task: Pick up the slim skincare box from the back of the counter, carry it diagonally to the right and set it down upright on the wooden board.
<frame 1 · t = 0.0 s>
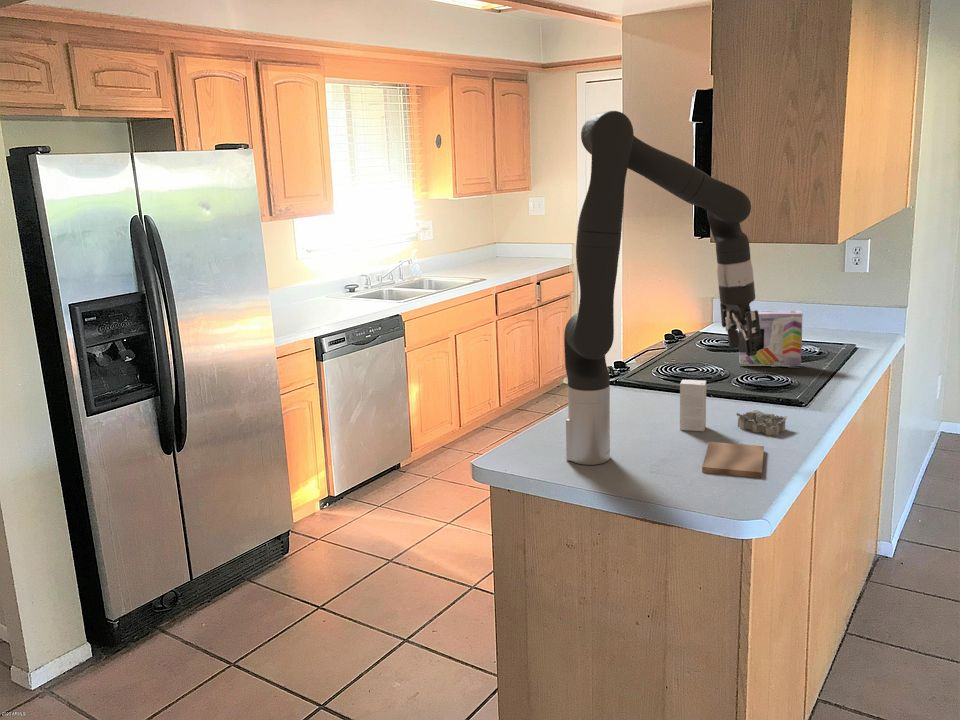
hand: (742, 350, 180), 22 cm above the worktop, tool pointing down, fingers open, 8 cm apart
cake pan box: (767, 366, 251), on the worktop
skincare box: (692, 429, 197), on the worktop
egg carton: (761, 430, 196), on the worktop
wooden board: (733, 461, 176), on the worktop
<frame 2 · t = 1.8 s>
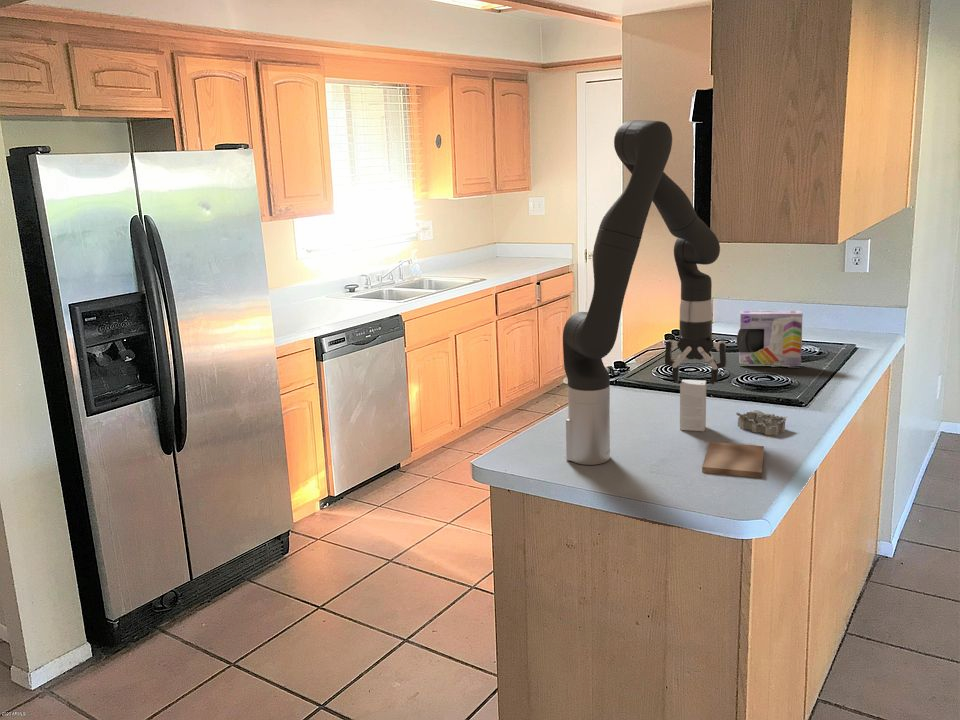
hand: (695, 382, 194), 12 cm above the worktop, tool pointing down, fingers open, 8 cm apart
nothing on the worktop moved.
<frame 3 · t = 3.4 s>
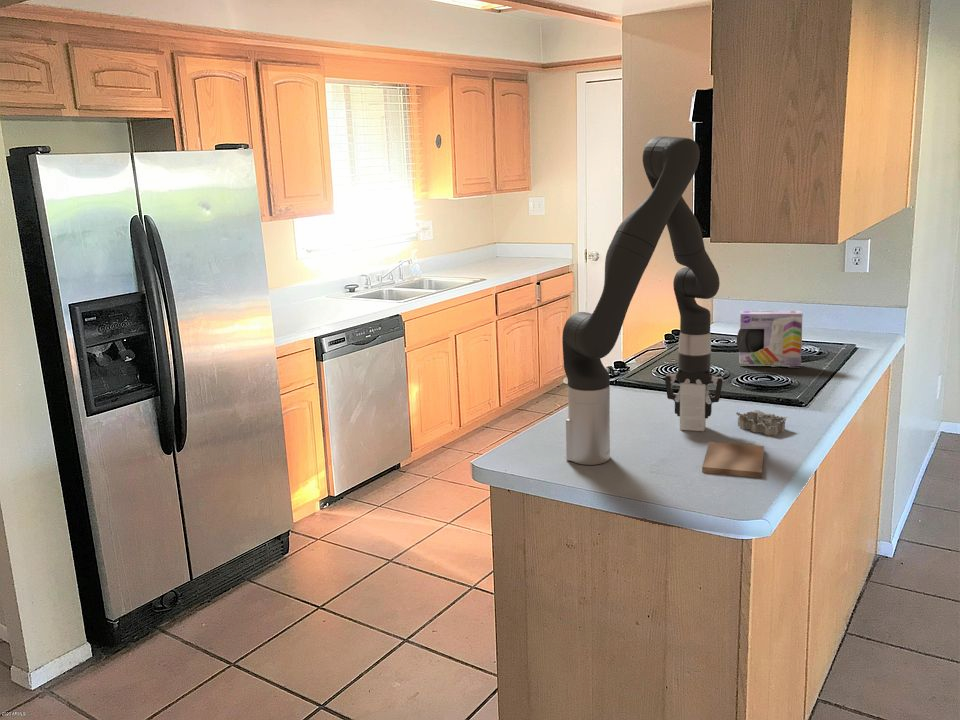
hand: (692, 416, 197), 3 cm above the worktop, tool pointing down, fingers closed on skincare box, 6 cm apart
skincare box: (692, 429, 198), on the worktop, touching gripper
everything else where it was.
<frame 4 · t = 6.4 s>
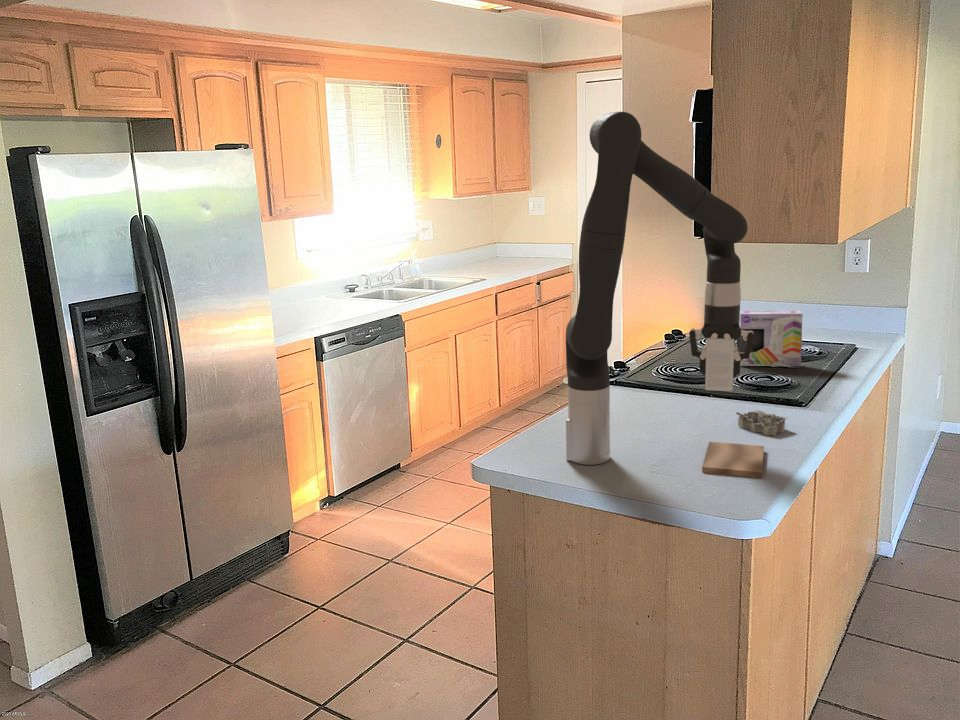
hand: (719, 375, 179), 17 cm above the worktop, tool pointing down, fingers closed on skincare box, 6 cm apart
skincare box: (718, 389, 180), point 14 cm above the worktop, touching gripper
everything else where it was.
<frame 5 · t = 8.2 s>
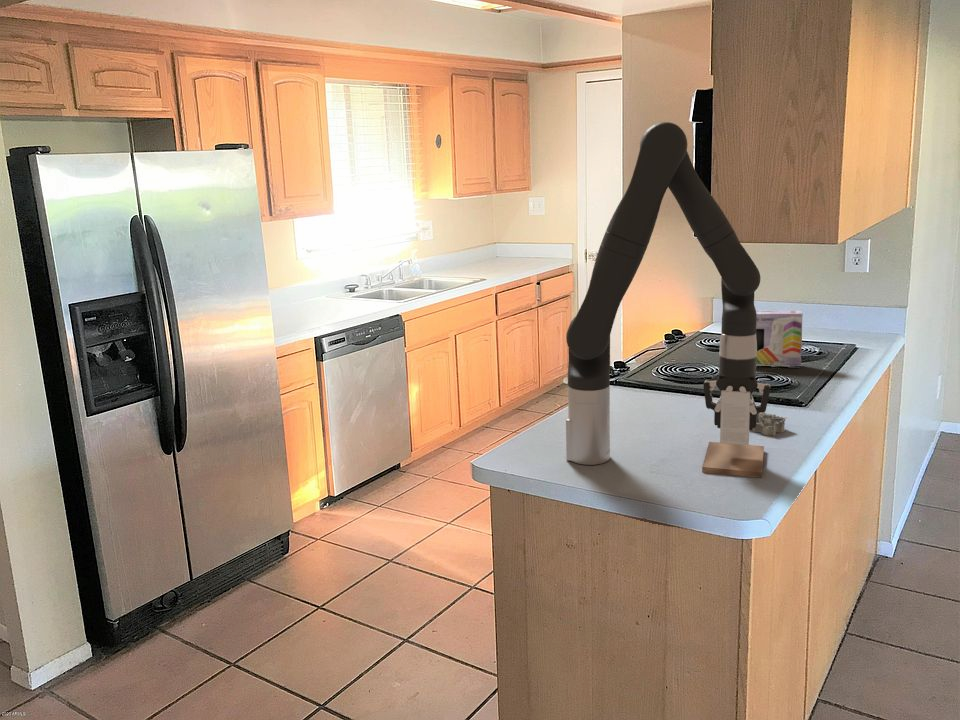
hand: (735, 428, 174), 8 cm above the worktop, tool pointing down, fingers closed on skincare box, 6 cm apart
skincare box: (734, 442, 174), point 4 cm above the worktop, touching gripper
everything else where it was.
when the fingers open (5 cm above the worktop, at t = 9.7 s): skincare box stays where it is, resting on wooden board.
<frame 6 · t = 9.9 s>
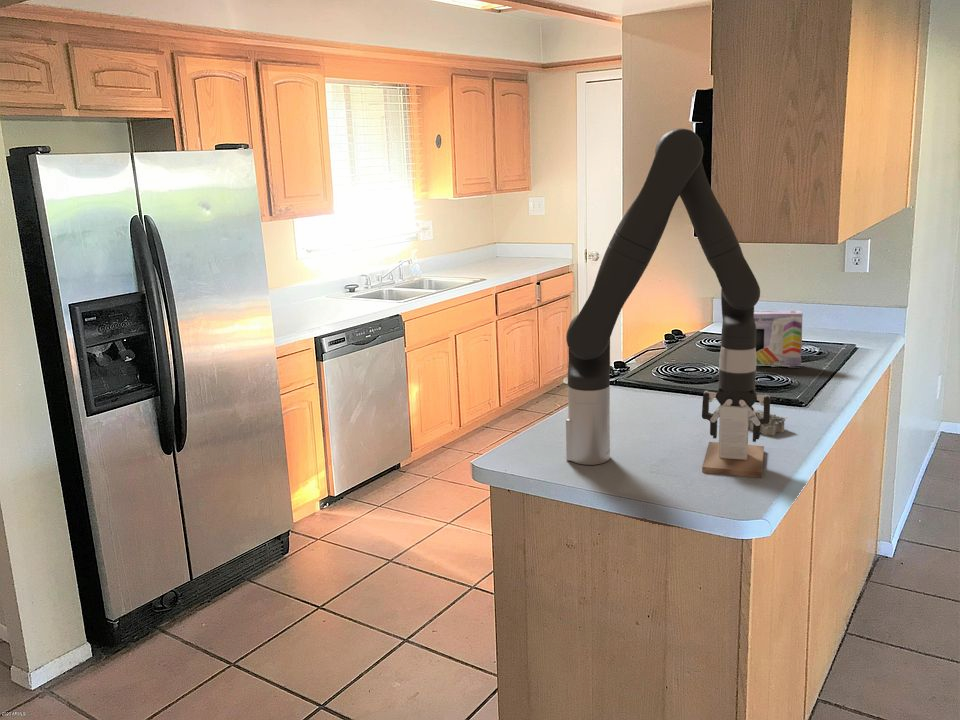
hand: (734, 439, 174), 5 cm above the worktop, tool pointing down, fingers open, 8 cm apart
skincare box: (732, 456, 175), point 1 cm above the worktop, touching wooden board
everything else where it was.
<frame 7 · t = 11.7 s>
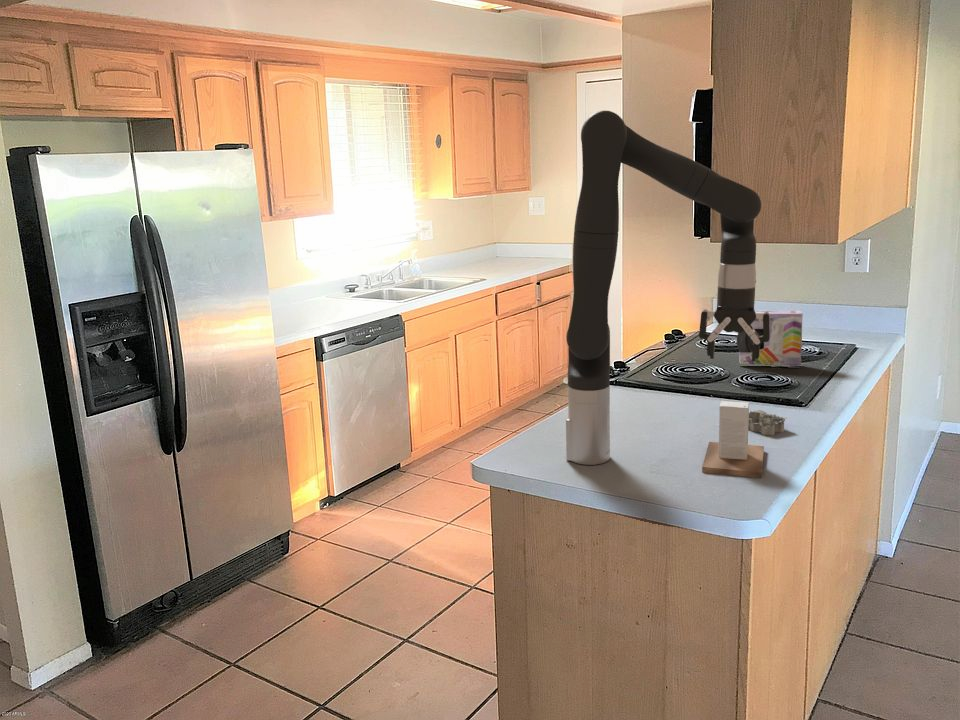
hand: (732, 359, 171), 23 cm above the worktop, tool pointing down, fingers open, 8 cm apart
nothing on the worktop moved.
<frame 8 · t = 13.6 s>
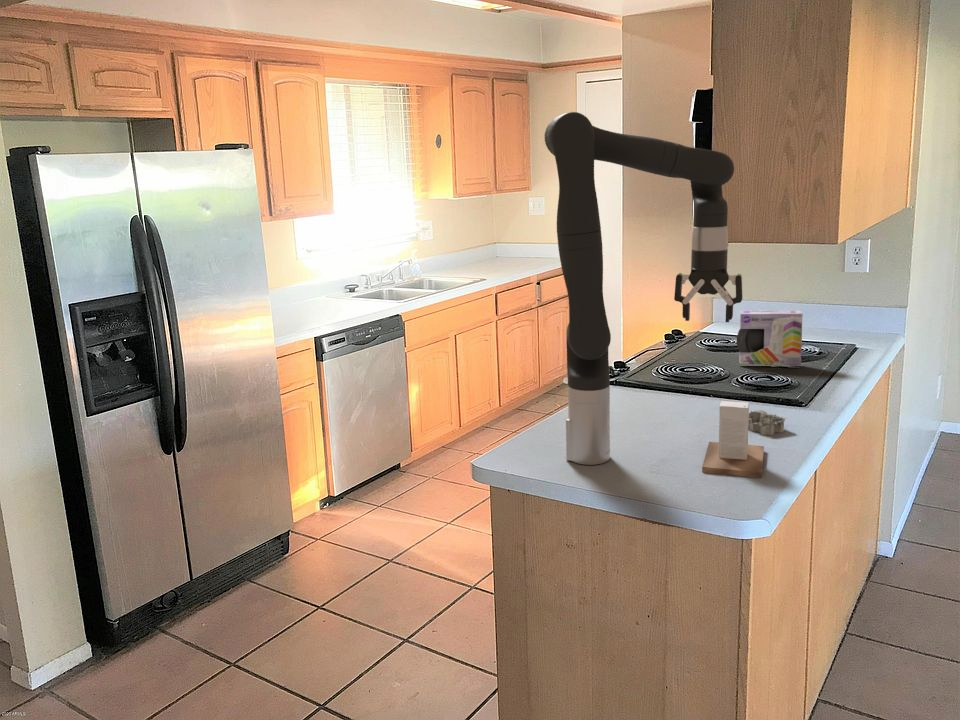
hand: (707, 320, 176), 30 cm above the worktop, tool pointing down, fingers open, 8 cm apart
nothing on the worktop moved.
at the end: skincare box inside the target area on the wooden board (0.3 cm from its centre), point 1.0 cm above the wooden board's base; skincare box tilted 0°; the gripper is holding nothing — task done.
